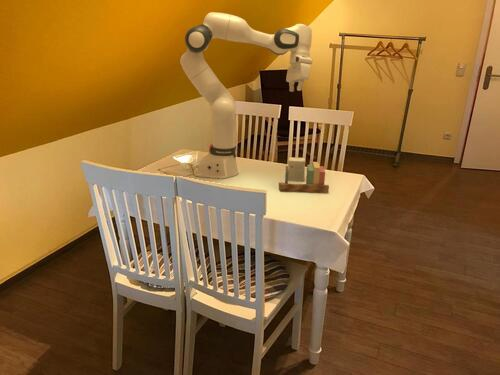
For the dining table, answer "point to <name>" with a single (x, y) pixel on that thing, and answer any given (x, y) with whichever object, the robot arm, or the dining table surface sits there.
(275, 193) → the dining table surface
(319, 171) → the upright books
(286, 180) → the bookend
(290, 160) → the small box
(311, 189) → the walnut rail
